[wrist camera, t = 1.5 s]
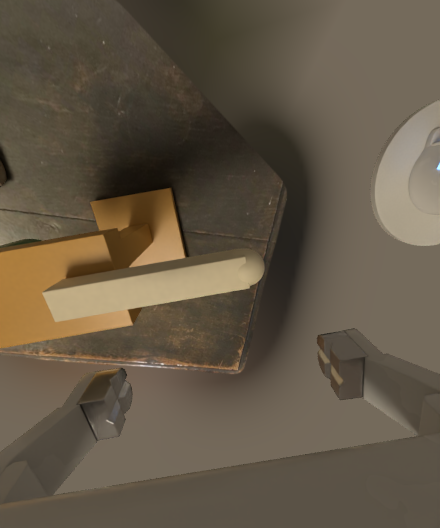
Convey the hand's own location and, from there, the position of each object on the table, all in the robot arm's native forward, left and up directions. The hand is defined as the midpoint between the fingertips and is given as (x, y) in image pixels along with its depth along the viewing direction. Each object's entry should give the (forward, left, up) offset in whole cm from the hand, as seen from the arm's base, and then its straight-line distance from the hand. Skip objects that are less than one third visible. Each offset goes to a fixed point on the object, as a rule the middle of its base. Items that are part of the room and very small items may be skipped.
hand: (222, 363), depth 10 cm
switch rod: (+3, -2, -10) cm, 10 cm away
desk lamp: (+13, -6, -37) cm, 40 cm away
